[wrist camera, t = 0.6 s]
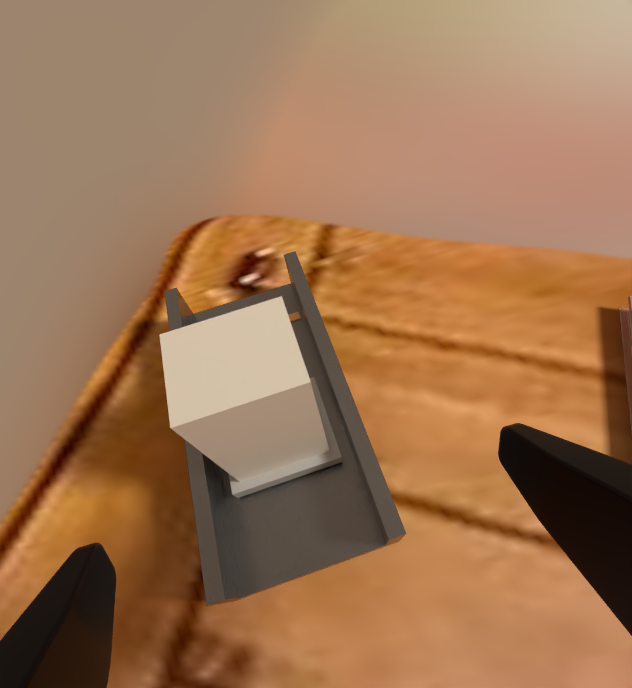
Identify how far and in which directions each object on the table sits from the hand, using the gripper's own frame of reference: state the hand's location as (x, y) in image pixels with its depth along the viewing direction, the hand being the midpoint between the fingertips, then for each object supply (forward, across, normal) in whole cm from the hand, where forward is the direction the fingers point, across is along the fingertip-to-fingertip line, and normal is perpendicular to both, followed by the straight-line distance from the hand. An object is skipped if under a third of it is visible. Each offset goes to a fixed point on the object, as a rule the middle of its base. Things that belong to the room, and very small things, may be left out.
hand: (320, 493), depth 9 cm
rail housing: (+15, 0, +8) cm, 17 cm away
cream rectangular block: (+12, 0, +8) cm, 15 cm away
